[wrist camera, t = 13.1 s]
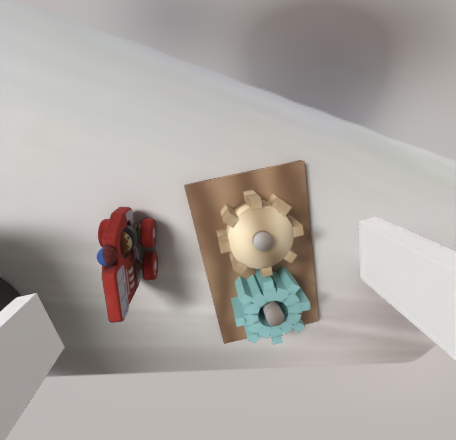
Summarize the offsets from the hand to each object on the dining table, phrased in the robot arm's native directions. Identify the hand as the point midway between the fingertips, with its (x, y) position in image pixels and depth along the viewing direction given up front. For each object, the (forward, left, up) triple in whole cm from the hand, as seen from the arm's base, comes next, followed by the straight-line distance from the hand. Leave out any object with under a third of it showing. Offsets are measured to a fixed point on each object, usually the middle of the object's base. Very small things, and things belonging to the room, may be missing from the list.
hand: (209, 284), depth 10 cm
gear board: (+6, -14, -27) cm, 31 cm away
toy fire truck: (-12, -7, -27) cm, 30 cm away
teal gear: (+6, -20, -26) cm, 33 cm away
